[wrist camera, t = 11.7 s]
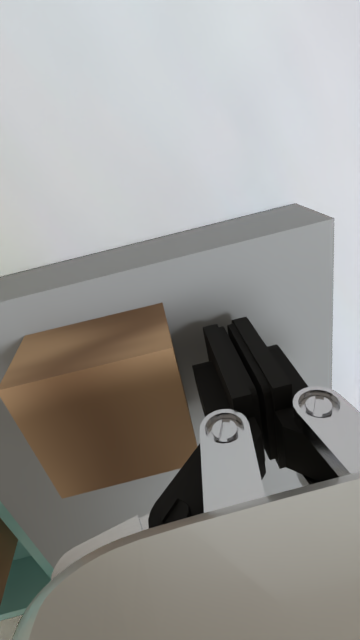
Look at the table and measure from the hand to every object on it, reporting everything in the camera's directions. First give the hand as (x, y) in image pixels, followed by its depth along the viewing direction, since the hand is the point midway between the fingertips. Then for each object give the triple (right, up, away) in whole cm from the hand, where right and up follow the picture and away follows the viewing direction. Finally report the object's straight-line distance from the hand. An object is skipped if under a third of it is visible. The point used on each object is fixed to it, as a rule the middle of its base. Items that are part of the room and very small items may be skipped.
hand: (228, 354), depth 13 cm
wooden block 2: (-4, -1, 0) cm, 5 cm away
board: (-3, -3, +5) cm, 7 cm away
